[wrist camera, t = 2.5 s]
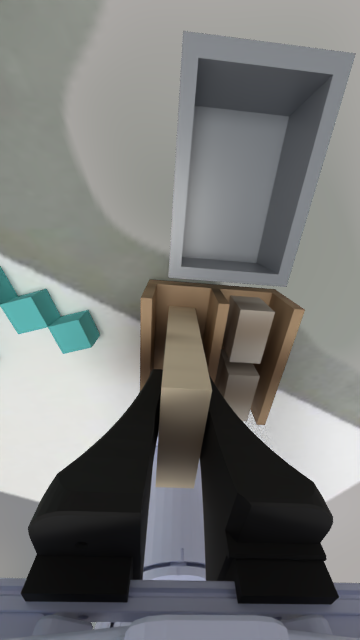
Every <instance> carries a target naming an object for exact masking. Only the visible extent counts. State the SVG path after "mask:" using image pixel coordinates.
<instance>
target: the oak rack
mask: <svg viewBox="0 0 360 640" xmlns="http://www.w3.org/2000/svg"><path fill="white" fill-rule="evenodd" d="M230 295H232V296H245V297H259V298H260V299H261V300H263V301H264V302H265V303H266V304H267V305H268V306H269V307H270V308H271V309H272V310H273V311H275V314H274V318H273V321H272V325H271V328H270V332H269V335H268V339H267V342H266V346H265V349H264V352H263V356H262V359H261V363H260V364H257V363H253V365H254V366H255V368H256V370H257V372H258V374H259V376H260V378H259V381H258V385H257V388H256V391H255V395H254V398H253V401H252V405H251V408H250V409H251V411H252V414H253V416H254V419H255V422H256V424H257V425H265V423H266V420H267V417H268V414H269V411H270V408H271V406H272V403H273V400H274V397H275V394H276V391H277V388H278V386H279V383H280V380H281V377H282V374H283V371H284V368H285V366H286V363H287V360H288V357H289V354H290V351H291V348H292V346H293V343H294V340H295V337H296V334H297V331H298V328H299V326H300V323H301V320H302V317H303V314H304V311H305V310H304V309H303V308H301V307H300V306H298V305H297V304H296V303H294V302H293V301H291V300H290V299H288V298H286V297H285V296H284V295H282V294H281V293H279V292H278V291H276V290H275V289H264V288H252V287H239V286H226V285H213V284H200V283H187V282H174V281H162V280H149V282H148V284H147V286H146V288H145V290H144V292H143V294H142V296H141V347H140V391H141V390H142V388H143V387H144V385H145V383H146V381H147V380H148V378H149V376H150V373H151V371H152V370H153V369H162V370H163V365H164V355H165V344H166V334H167V324H168V313H169V306H174V307H188V308H195V310H196V315H197V320H198V325H199V330H200V334H201V339H202V344H203V349H204V353H205V358H206V363H207V368H208V373H209V375H210V377H211V378H212V380H213V382H214V384H215V379H216V374H217V369H218V364H219V358H220V353H221V349H225V348H224V346H223V337H224V332H225V327H226V322H227V316H228V311H229V306H230V304H229V300H230Z"/></svg>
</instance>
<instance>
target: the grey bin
mask: <svg viewBox="0 0 360 640" xmlns="http://www.w3.org/2000/svg"><path fill="white" fill-rule="evenodd" d="M354 58H355V53H349V52H341V51H333V50H326V49H318V48H310V47H303V46H295V45H287V44H280V43H272V42H264V41H257V40H249V39H241V38H234V37H226V36H219V35H210V34H203V33H195V32H188V31H183V44H182V60H181V76H180V93H179V111H178V128H177V144H176V161H175V176H174V195H173V210H172V226H171V227H172V228H171V244H170V260H169V276H168V278H180V279H193V280H206V281H219V282H231V283H244V284H257V285H270V286H283V287H287V283H288V280H289V276H290V273H291V270H292V267H293V263H294V260H295V256H296V253H297V250H298V246H299V243H300V240H301V236H302V233H303V229H304V226H305V223H306V219H307V216H308V213H309V209H310V206H311V202H312V199H313V196H314V192H315V189H316V186H317V182H318V179H319V175H320V172H321V169H322V165H323V162H324V158H325V155H326V151H327V149H328V145H329V142H330V138H331V135H332V131H333V128H334V125H335V122H336V118H337V115H338V111H339V108H340V105H341V101H342V98H343V94H344V91H345V88H346V84H347V81H348V77H349V74H350V71H351V68H352V64H353V61H354Z"/></svg>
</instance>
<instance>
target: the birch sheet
mask: <svg viewBox="0 0 360 640" xmlns="http://www.w3.org/2000/svg"><path fill="white" fill-rule="evenodd" d="M211 394H212V387H211V382H210V377H209V373H208V368H207V363H206V358H205V353H204V349H203V344H202V339H201V334H200V330H199V325H198V320H197V315H196V310H195V308H188V307H174V306H169V313H168V324H167V334H166V344H165V355H164V365H163V375H162V386H161V402H160V419H159V436H158V453H157V470H156V487H167V488H194V485H195V479H196V474H197V469H198V463H199V458H200V452H201V447H202V442H203V436H204V431H205V426H206V420H207V415H208V410H209V404H210V399H211Z"/></svg>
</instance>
